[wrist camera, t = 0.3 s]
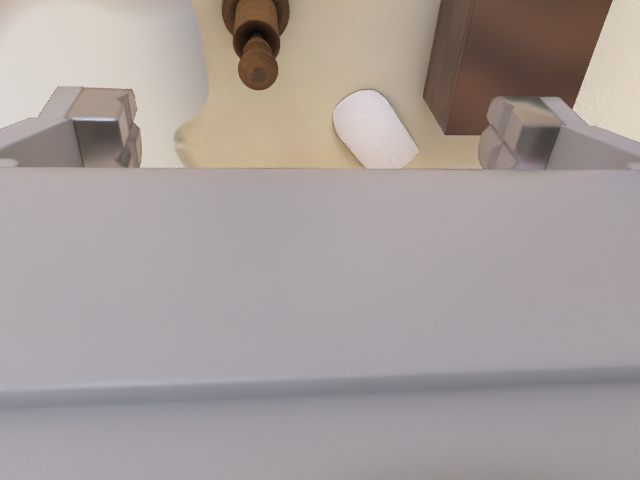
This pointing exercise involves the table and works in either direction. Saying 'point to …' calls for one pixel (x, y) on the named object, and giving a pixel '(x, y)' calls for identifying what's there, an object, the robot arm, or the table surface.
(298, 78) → the table surface
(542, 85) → the cabinet
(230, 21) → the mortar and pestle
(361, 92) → the white curved flat piece
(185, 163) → the table surface
